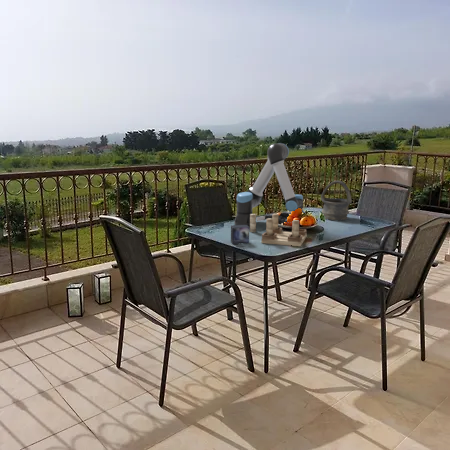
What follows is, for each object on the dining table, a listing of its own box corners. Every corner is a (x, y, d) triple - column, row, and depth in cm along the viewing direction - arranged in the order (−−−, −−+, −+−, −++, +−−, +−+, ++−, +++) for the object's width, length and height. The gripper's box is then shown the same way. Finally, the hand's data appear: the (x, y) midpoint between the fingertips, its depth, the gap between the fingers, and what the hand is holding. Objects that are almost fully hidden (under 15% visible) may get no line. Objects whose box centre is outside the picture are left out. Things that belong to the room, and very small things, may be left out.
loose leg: (250, 230, 278) (251, 213, 276) (256, 231, 277) (256, 214, 275) (249, 232, 275) (249, 214, 272) (254, 232, 273) (255, 215, 271)
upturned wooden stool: (270, 234, 269) (270, 212, 266) (306, 236, 261) (307, 215, 258) (261, 242, 247) (261, 219, 244) (300, 246, 239) (301, 222, 236)
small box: (232, 244, 244) (232, 227, 242) (230, 241, 250) (230, 225, 248) (249, 243, 246) (249, 226, 244) (246, 240, 252) (246, 224, 250)
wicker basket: (338, 222, 304) (340, 182, 297) (314, 217, 322) (316, 180, 316) (356, 218, 317) (358, 180, 310) (332, 214, 335) (334, 178, 328)
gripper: (298, 225, 279) (273, 229, 268) (275, 219, 300) (252, 222, 289) (298, 215, 277) (274, 218, 267) (276, 209, 298) (252, 212, 288)
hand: (262, 220), depth 278 cm, fingers open, 13 cm apart
